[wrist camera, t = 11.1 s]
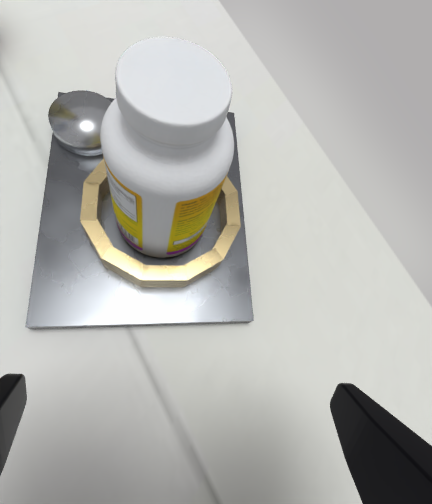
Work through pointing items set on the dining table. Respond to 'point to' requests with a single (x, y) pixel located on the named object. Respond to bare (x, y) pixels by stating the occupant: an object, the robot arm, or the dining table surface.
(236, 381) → the dining table surface
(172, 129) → the supplement bottle
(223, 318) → the carrier plate
